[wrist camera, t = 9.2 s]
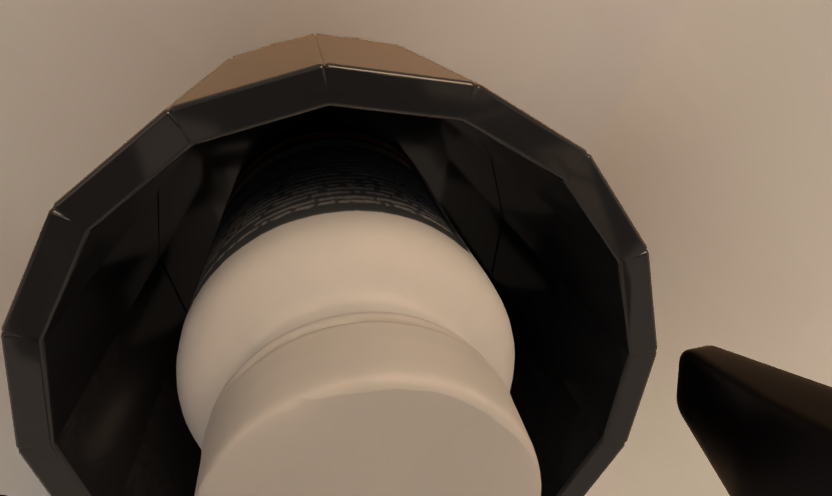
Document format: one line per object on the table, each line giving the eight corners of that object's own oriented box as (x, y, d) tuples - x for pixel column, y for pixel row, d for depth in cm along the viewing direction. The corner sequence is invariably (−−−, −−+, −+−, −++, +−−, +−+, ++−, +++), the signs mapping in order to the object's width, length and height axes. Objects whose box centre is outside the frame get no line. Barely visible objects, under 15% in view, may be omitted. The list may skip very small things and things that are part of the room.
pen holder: (317, 436, 17) (324, 685, 11) (51, 209, 14) (-169, 393, 7) (574, 245, 16) (742, 400, 10) (365, -57, 13) (427, -114, 6)
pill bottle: (177, 199, 14) (-10, 493, 5) (371, 84, 13) (474, 214, 5) (302, 358, 16) (302, 731, 8) (470, 262, 16) (651, 545, 7)
